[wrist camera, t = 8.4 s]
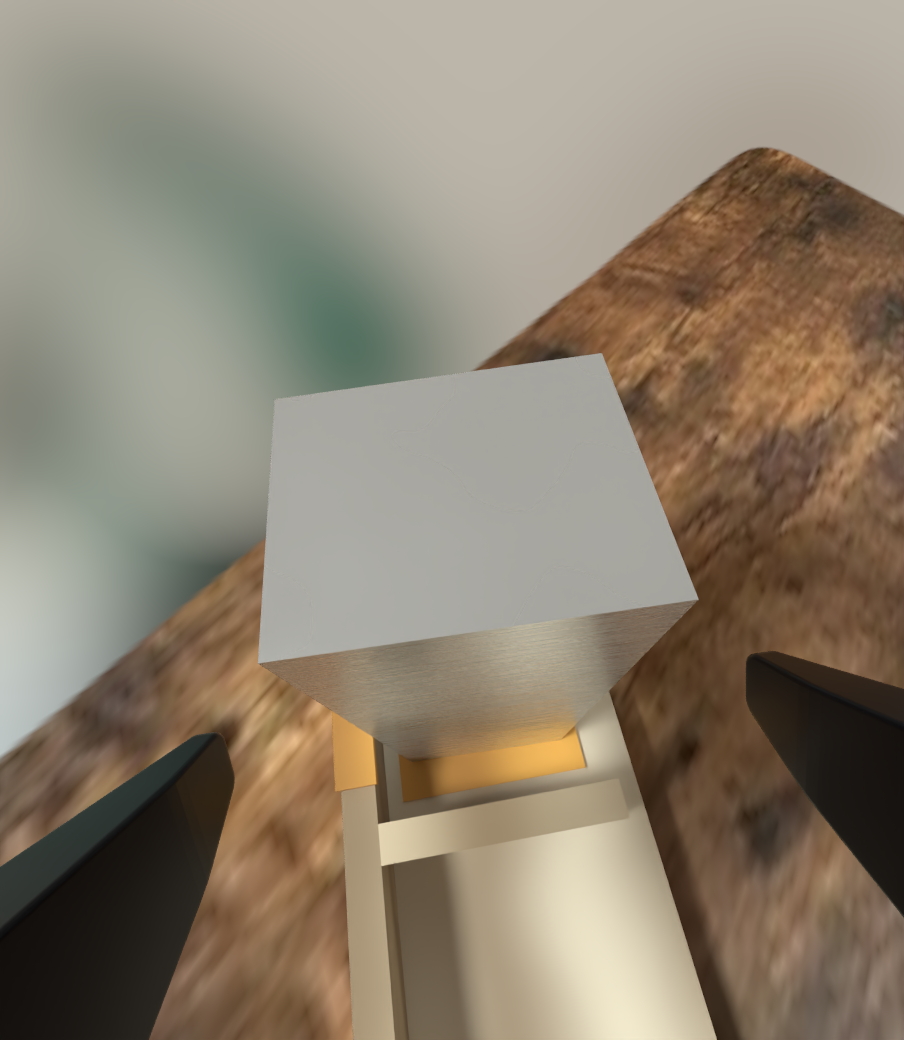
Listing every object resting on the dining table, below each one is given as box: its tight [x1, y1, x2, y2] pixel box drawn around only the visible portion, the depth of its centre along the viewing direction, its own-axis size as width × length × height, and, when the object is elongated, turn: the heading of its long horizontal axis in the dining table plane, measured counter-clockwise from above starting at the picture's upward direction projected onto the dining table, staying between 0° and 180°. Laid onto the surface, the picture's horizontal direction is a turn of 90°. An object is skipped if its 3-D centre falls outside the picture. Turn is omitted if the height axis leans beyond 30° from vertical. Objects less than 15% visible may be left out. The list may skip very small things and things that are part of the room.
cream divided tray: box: [332, 691, 717, 1040], centre depth 16 cm, size 9×17×3 cm, turn 9°
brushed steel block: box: [258, 353, 699, 762], centre depth 12 cm, size 4×5×13 cm
